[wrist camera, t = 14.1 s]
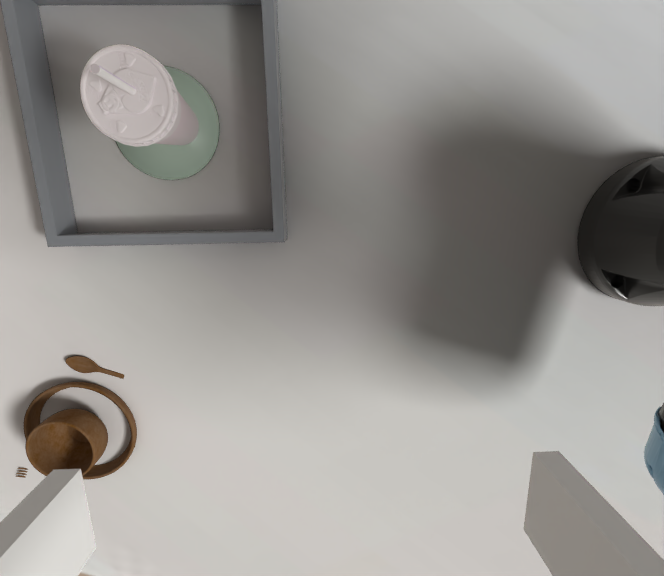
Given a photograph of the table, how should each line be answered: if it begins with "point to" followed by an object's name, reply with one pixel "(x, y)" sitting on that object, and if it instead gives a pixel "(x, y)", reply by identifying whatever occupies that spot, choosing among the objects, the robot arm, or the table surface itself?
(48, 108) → the grey square frame
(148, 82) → the smoothie
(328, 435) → the table surface
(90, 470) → the place setting
